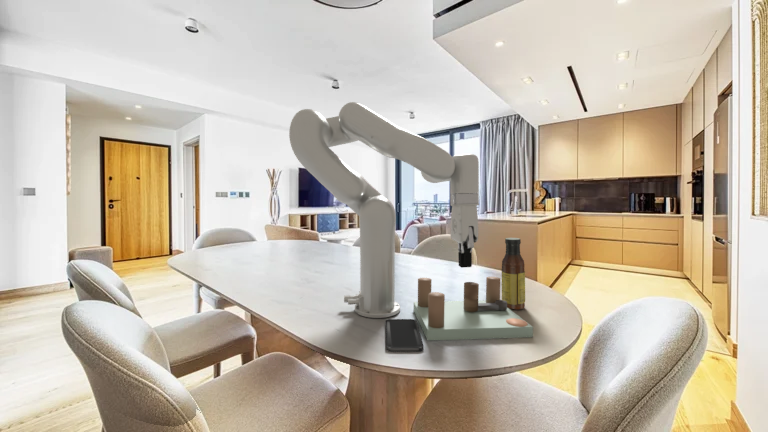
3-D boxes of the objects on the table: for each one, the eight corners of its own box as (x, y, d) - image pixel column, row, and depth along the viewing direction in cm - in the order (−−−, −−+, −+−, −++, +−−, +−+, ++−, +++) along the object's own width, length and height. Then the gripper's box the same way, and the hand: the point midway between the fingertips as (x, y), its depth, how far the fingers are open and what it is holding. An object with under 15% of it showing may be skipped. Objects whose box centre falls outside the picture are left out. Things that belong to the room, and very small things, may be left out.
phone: (386, 348, 62) (385, 319, 77) (386, 353, 62) (385, 323, 77) (424, 348, 62) (416, 318, 77) (424, 353, 62) (416, 323, 77)
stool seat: (427, 340, 67) (427, 298, 67) (413, 310, 85) (413, 277, 85) (532, 337, 69) (533, 296, 69) (497, 308, 87) (498, 275, 86)
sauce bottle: (520, 303, 91) (522, 237, 90) (528, 311, 85) (530, 240, 84) (498, 302, 92) (499, 236, 91) (504, 310, 86) (505, 239, 84)
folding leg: (503, 305, 81) (503, 281, 81) (509, 310, 78) (510, 285, 77) (461, 306, 80) (462, 282, 80) (466, 312, 77) (466, 286, 76)
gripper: (443, 200, 91) (444, 261, 92) (459, 201, 76) (460, 273, 77) (468, 199, 92) (468, 260, 93) (489, 200, 77) (489, 272, 78)
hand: (465, 266), depth 85 cm, fingers closed
